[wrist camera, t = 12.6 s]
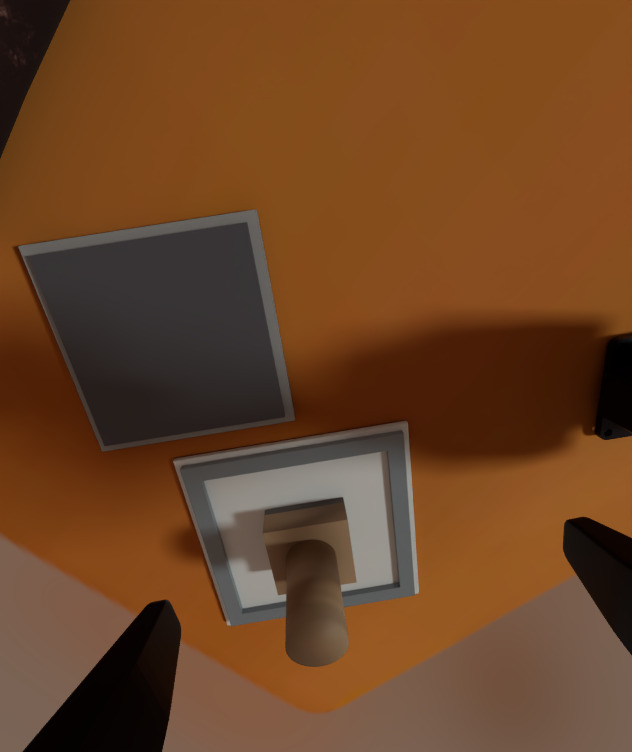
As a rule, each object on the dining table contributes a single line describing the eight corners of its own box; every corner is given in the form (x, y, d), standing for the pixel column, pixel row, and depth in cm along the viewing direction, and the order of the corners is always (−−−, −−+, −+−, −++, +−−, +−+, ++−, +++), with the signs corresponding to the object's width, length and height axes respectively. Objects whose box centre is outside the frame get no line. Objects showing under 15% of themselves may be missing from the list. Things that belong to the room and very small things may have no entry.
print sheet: (406, 420, 21) (410, 426, 21) (417, 589, 26) (420, 598, 26) (174, 458, 21) (170, 465, 21) (228, 621, 26) (226, 631, 25)
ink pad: (257, 210, 17) (254, 208, 16) (295, 415, 21) (295, 423, 20) (27, 246, 17) (11, 246, 16) (107, 446, 21) (98, 455, 20)
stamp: (343, 496, 23) (364, 599, 16) (351, 556, 24) (374, 670, 18) (264, 509, 23) (254, 617, 16) (279, 568, 24) (274, 687, 18)
